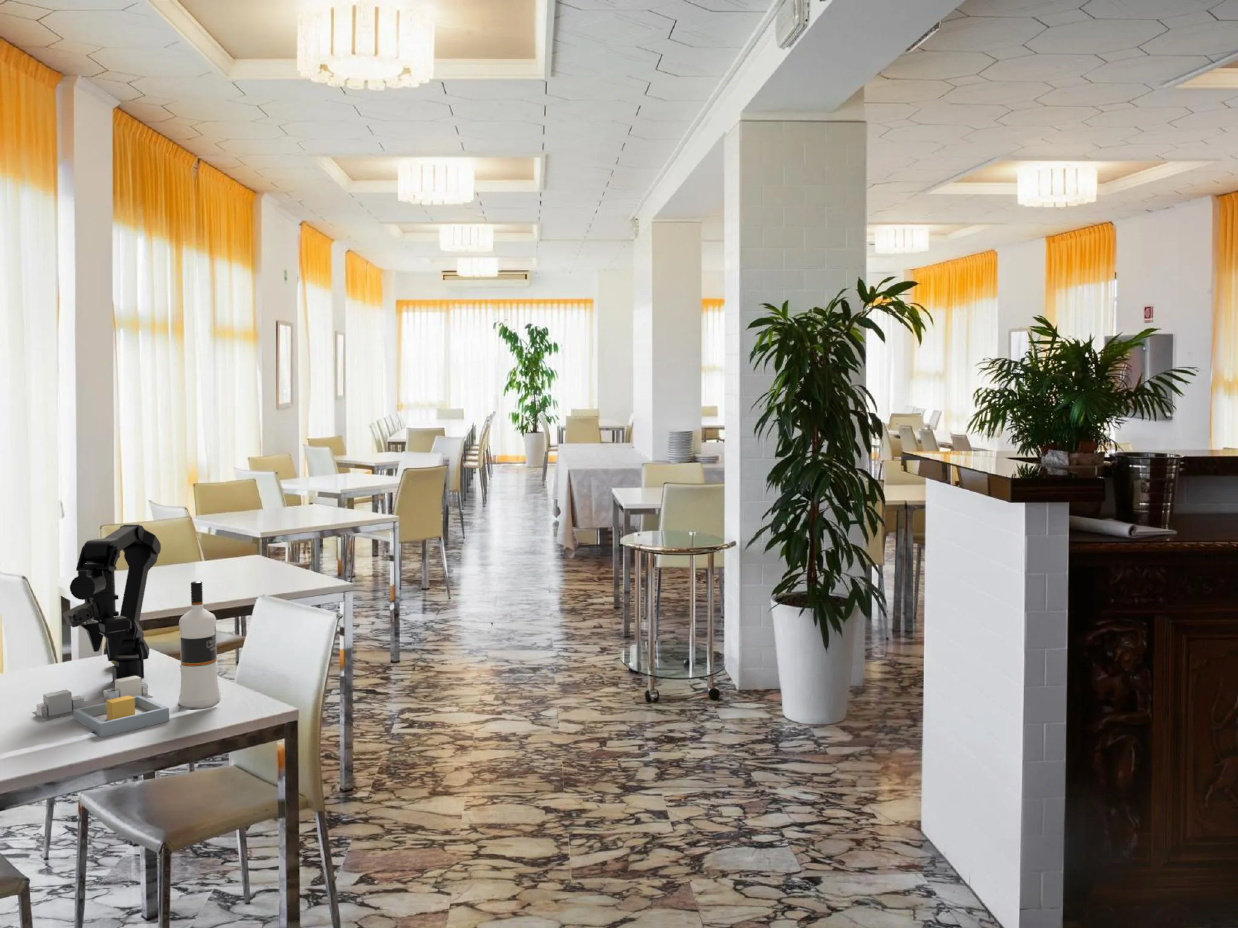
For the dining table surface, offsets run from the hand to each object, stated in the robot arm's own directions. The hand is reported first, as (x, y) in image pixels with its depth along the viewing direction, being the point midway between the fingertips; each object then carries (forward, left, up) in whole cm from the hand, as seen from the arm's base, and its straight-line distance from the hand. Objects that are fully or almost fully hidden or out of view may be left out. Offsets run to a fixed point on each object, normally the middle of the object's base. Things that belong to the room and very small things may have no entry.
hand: (104, 654), depth 248 cm
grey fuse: (+13, +6, -10) cm, 17 cm away
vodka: (-13, +22, -11) cm, 28 cm away
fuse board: (+5, +6, -11) cm, 13 cm away
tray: (+5, +21, -11) cm, 24 cm away
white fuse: (-3, +6, -10) cm, 12 cm away
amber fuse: (+5, +21, -10) cm, 24 cm away
